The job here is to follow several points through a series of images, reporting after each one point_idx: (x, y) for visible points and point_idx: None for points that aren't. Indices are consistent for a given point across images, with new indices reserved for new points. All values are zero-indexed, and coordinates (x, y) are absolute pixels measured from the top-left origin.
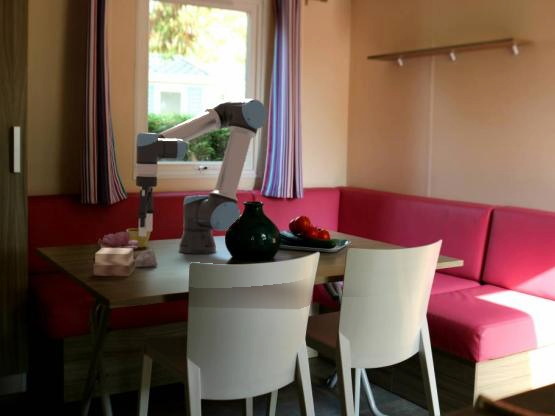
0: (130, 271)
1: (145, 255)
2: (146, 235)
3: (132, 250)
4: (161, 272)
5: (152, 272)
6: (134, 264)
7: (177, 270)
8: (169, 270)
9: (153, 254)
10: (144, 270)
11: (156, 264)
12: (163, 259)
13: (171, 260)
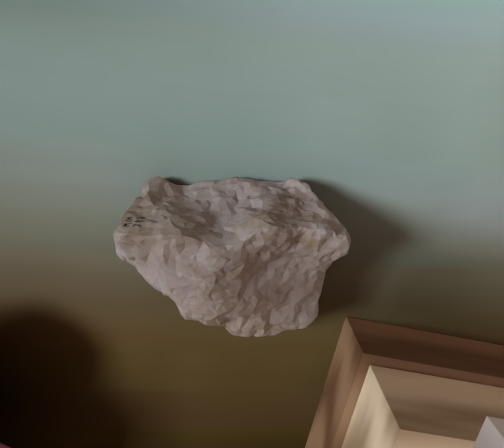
0: (502, 353)
1: (276, 285)
2: (501, 426)
3: (434, 426)
4: (491, 159)
5: (475, 218)
6: (374, 338)
7: (452, 33)
8: (438, 96)
9: (330, 231)
10: (401, 264)
11: (303, 185)
12: (8, 109)
13: (47, 45)
